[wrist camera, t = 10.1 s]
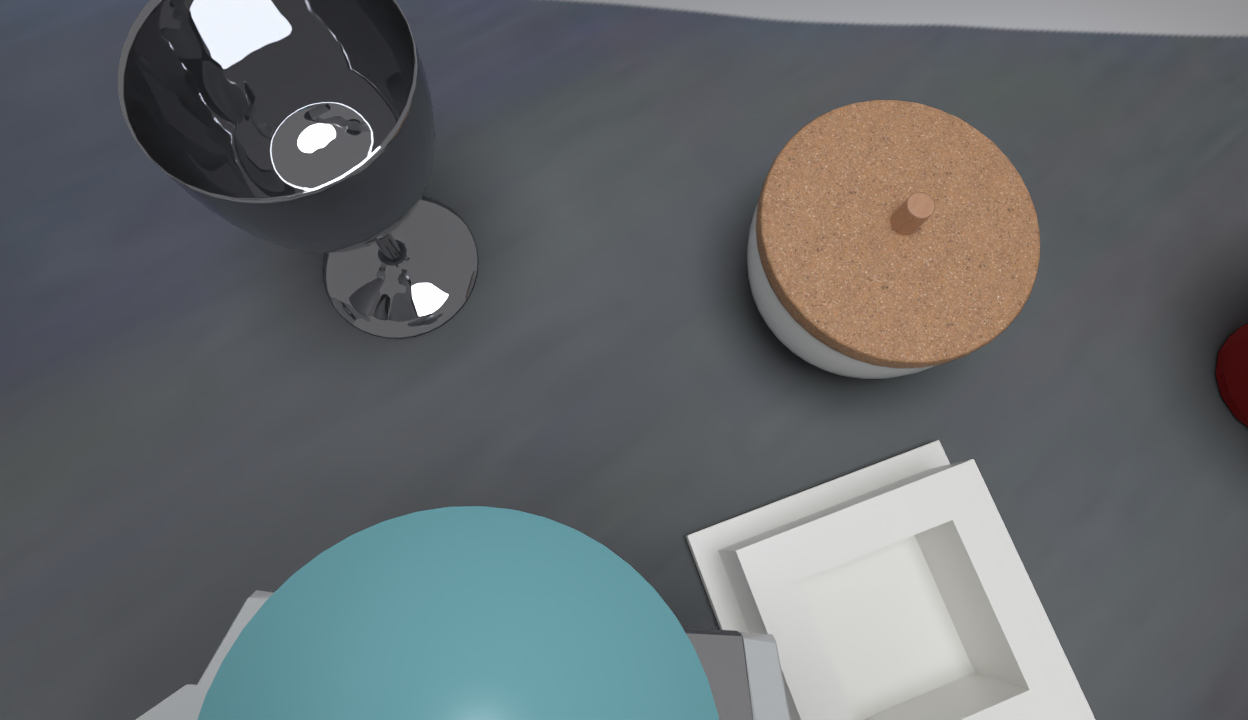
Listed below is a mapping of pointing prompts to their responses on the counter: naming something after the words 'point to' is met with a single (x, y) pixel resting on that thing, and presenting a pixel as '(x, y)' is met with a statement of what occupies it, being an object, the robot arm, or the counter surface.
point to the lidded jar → (891, 241)
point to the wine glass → (306, 143)
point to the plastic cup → (1234, 373)
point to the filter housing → (892, 598)
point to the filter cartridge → (463, 631)
